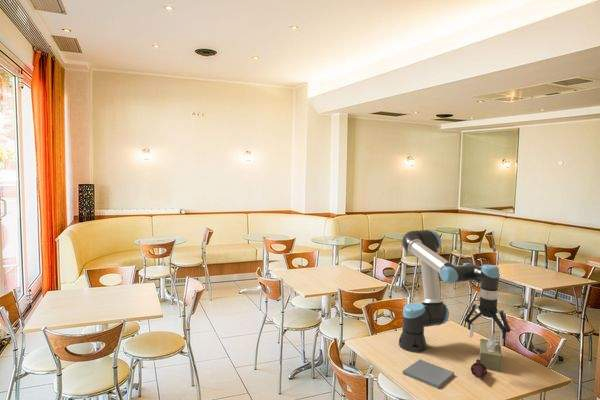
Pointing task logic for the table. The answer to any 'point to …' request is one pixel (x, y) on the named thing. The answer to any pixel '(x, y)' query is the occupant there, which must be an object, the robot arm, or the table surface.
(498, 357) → the tissue box
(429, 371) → the slate plate
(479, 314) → the robot arm
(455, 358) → the table surface
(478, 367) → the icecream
